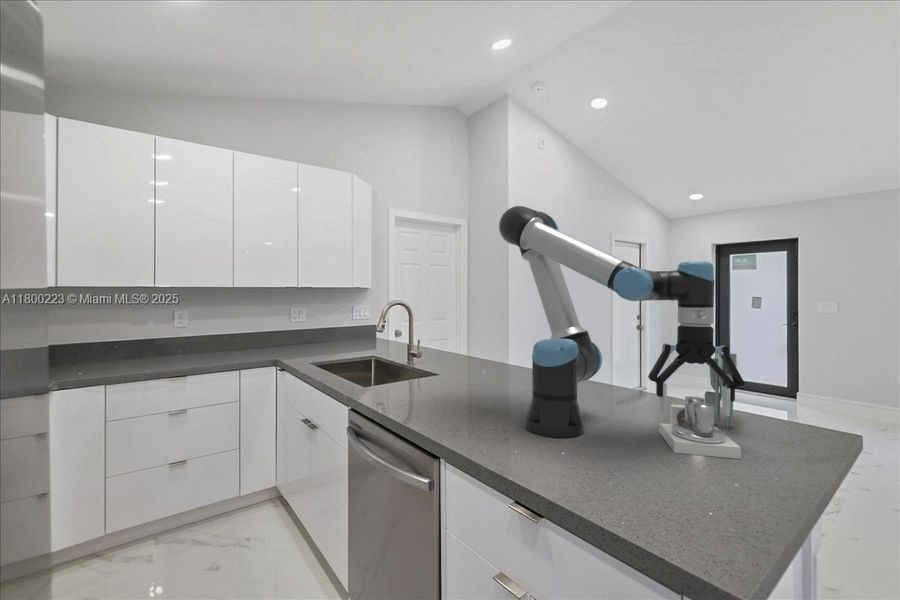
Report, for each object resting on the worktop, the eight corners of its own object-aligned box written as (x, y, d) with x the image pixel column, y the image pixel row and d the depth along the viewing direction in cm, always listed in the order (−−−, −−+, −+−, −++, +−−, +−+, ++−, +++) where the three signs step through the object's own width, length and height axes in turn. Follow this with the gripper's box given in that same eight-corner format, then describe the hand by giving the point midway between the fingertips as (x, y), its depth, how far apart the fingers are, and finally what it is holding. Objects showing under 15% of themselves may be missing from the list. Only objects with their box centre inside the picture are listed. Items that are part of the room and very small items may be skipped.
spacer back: (682, 423, 101) (682, 395, 101) (700, 425, 100) (701, 397, 100) (687, 428, 97) (687, 399, 97) (706, 430, 96) (706, 400, 96)
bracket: (733, 439, 101) (734, 359, 101) (699, 433, 105) (700, 356, 105) (736, 414, 123) (737, 348, 123) (709, 410, 127) (709, 346, 127)
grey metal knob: (690, 431, 95) (690, 401, 95) (709, 433, 94) (710, 403, 94) (696, 437, 91) (696, 406, 91) (716, 438, 90) (716, 407, 90)
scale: (674, 452, 92) (674, 421, 91) (657, 429, 107) (657, 403, 107) (740, 459, 88) (741, 427, 88) (712, 434, 104) (713, 407, 104)
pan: (678, 440, 92) (679, 436, 92) (666, 425, 102) (666, 421, 102) (734, 445, 89) (734, 440, 89) (715, 429, 100) (715, 425, 100)
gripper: (642, 324, 98) (641, 412, 98) (762, 327, 92) (761, 421, 92) (636, 323, 105) (635, 404, 105) (747, 325, 99) (746, 412, 99)
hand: (694, 412), depth 99 cm, fingers open, 13 cm apart
